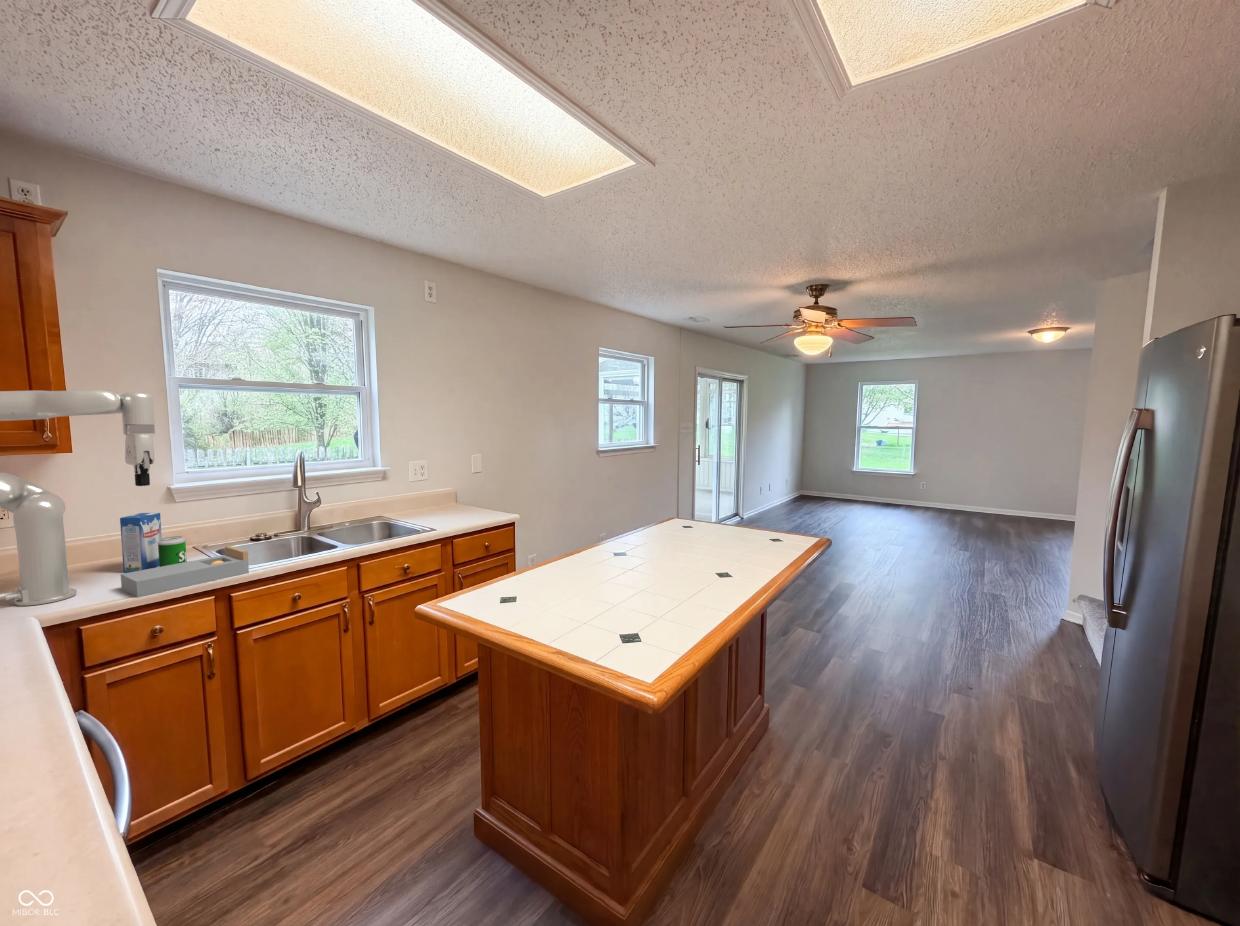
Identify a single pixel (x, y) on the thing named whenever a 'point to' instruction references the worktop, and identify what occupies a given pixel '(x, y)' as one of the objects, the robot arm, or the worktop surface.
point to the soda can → (172, 550)
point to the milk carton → (140, 541)
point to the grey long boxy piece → (186, 573)
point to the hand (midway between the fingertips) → (142, 485)
